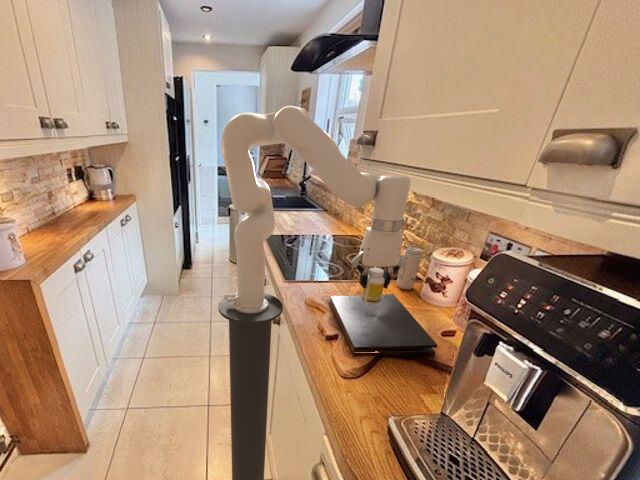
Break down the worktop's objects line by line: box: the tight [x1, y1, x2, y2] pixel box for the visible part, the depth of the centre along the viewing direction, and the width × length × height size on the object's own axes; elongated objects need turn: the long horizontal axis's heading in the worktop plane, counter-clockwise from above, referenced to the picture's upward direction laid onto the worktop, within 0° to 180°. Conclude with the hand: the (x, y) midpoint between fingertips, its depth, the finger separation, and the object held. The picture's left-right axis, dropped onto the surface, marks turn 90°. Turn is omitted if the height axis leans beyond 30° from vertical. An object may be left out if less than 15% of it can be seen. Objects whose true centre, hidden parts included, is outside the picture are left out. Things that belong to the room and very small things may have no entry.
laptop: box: [329, 298, 437, 358], centre depth 98 cm, size 21×30×2 cm
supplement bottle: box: [361, 267, 385, 304], centre depth 95 cm, size 5×5×10 cm
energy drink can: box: [396, 246, 423, 290], centre depth 121 cm, size 6×6×15 cm
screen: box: [330, 293, 439, 350], centre depth 98 cm, size 21×30×1 cm
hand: (373, 285), depth 95 cm, fingers closed on supplement bottle, 5 cm apart
